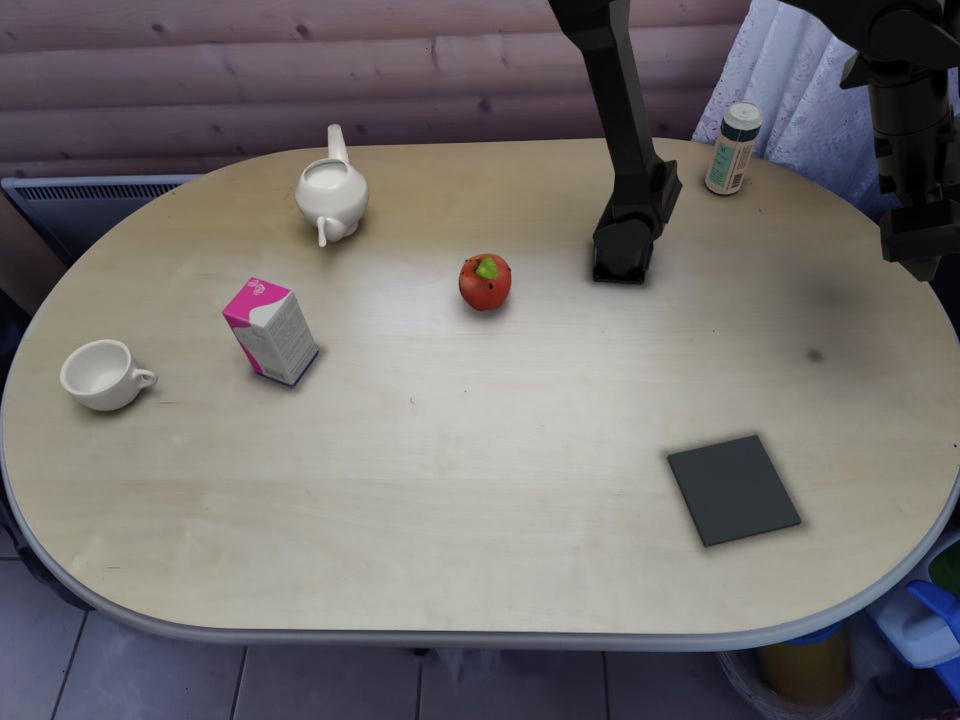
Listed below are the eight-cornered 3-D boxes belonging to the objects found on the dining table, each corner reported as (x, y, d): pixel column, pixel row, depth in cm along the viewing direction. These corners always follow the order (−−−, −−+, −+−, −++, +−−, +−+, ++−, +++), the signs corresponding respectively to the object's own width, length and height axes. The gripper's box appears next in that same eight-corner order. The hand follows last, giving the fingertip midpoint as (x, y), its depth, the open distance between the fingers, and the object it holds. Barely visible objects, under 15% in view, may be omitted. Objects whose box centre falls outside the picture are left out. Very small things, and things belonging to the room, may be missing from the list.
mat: (704, 547, 67) (706, 545, 66) (667, 457, 72) (668, 454, 72) (800, 523, 68) (802, 521, 67) (755, 436, 73) (757, 434, 73)
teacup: (75, 419, 79) (48, 395, 74) (98, 364, 83) (75, 338, 79) (158, 420, 78) (136, 396, 74) (178, 364, 82) (158, 338, 78)
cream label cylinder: (741, 177, 96) (767, 102, 86) (737, 199, 93) (762, 125, 83) (707, 170, 97) (728, 96, 87) (702, 193, 94) (722, 119, 84)
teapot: (297, 281, 89) (276, 230, 81) (316, 178, 100) (299, 125, 93) (369, 278, 89) (355, 227, 81) (381, 175, 100) (369, 121, 92)
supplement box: (320, 350, 83) (294, 289, 73) (293, 389, 80) (263, 330, 70) (281, 336, 84) (250, 274, 75) (253, 372, 81) (218, 313, 72)
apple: (447, 301, 86) (439, 245, 78) (488, 273, 88) (484, 216, 80) (487, 337, 82) (484, 283, 74) (528, 306, 85) (529, 251, 76)
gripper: (1050, 155, 49) (1041, 304, 59) (1011, 29, 60) (1008, 173, 69) (873, 189, 55) (891, 319, 65) (866, 69, 66) (882, 196, 75)
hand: (921, 248), depth 68 cm, fingers open, 9 cm apart
